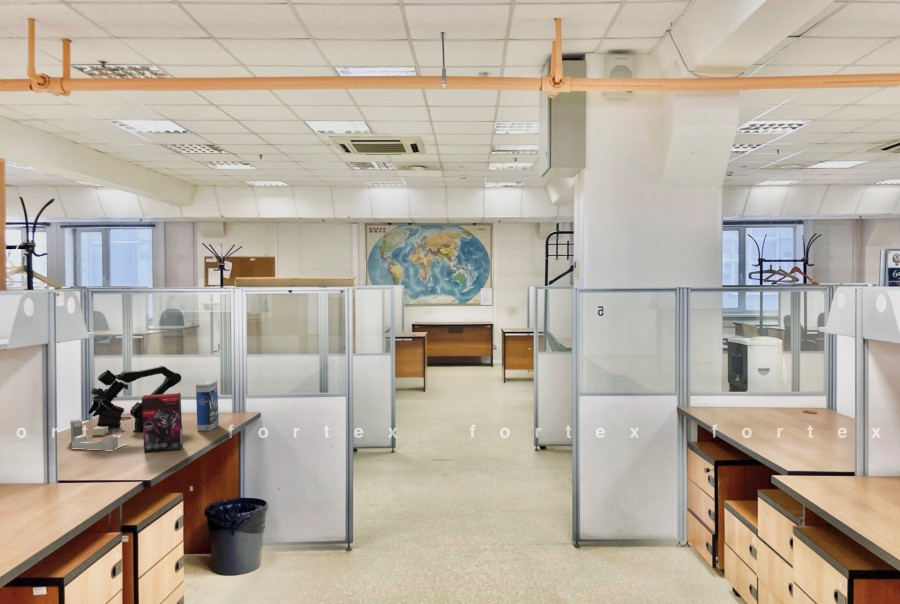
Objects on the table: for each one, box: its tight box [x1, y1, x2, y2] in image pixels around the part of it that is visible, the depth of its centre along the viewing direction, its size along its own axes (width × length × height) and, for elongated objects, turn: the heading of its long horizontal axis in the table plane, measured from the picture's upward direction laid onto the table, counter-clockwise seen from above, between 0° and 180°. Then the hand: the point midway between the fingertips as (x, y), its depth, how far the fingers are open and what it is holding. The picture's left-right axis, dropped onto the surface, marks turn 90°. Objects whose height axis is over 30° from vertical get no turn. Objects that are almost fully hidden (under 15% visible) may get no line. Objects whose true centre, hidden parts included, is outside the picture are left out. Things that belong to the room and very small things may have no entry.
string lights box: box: [195, 380, 220, 432], centre depth 344 cm, size 13×8×26 cm, turn 0°
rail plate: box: [71, 434, 129, 451], centre depth 308 cm, size 12×24×5 cm, turn 77°
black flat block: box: [96, 404, 125, 429], centre depth 347 cm, size 4×13×15 cm, turn 108°
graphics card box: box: [141, 392, 184, 453], centre depth 301 cm, size 17×7×27 cm, turn 105°
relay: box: [92, 426, 109, 436], centre depth 334 cm, size 6×4×4 cm
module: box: [70, 419, 83, 443], centre depth 319 cm, size 4×6×11 cm
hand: (90, 414), depth 323 cm, fingers open, 9 cm apart
